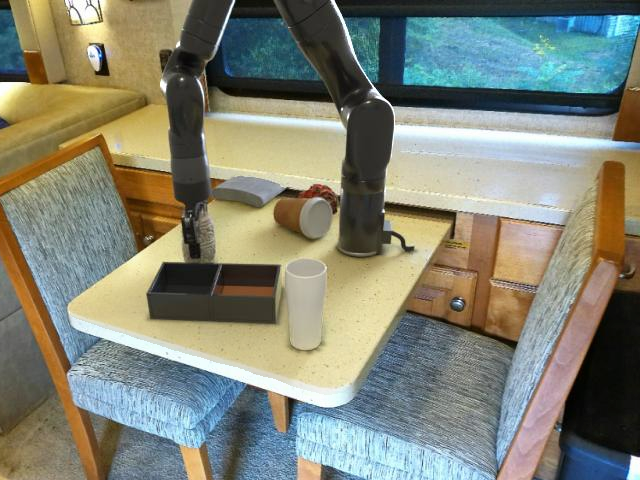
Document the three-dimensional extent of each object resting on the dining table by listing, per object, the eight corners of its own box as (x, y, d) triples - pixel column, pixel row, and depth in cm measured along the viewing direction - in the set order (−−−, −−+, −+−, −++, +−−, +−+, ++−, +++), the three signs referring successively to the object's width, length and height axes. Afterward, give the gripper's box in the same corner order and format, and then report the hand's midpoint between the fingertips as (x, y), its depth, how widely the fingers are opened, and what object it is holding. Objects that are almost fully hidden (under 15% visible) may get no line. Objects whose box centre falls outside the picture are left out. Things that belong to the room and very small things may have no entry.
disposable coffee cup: (286, 237, 146) (323, 246, 137) (262, 221, 139) (299, 229, 131) (301, 202, 146) (339, 208, 138) (278, 184, 140) (316, 189, 131)
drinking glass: (283, 333, 106) (281, 259, 98) (320, 329, 107) (322, 255, 99) (288, 356, 101) (288, 279, 93) (328, 352, 101) (331, 275, 93)
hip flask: (263, 208, 153) (299, 182, 167) (262, 193, 151) (299, 168, 165) (212, 198, 160) (250, 173, 174) (210, 184, 158) (249, 160, 172)
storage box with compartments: (281, 289, 119) (281, 264, 116) (276, 323, 109) (275, 297, 106) (166, 285, 123) (162, 261, 120) (150, 319, 113) (146, 293, 110)
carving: (208, 275, 125) (203, 223, 118) (178, 269, 128) (171, 218, 121) (223, 261, 129) (218, 210, 123) (193, 255, 133) (187, 205, 126)
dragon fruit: (338, 228, 144) (299, 223, 152) (352, 199, 146) (313, 195, 154) (323, 208, 138) (283, 204, 146) (338, 178, 140) (297, 175, 148)
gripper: (202, 188, 111) (210, 267, 120) (216, 162, 123) (222, 235, 132) (163, 188, 112) (173, 266, 121) (180, 162, 124) (189, 234, 133)
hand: (199, 249), depth 127 cm, fingers closed on carving, 6 cm apart
